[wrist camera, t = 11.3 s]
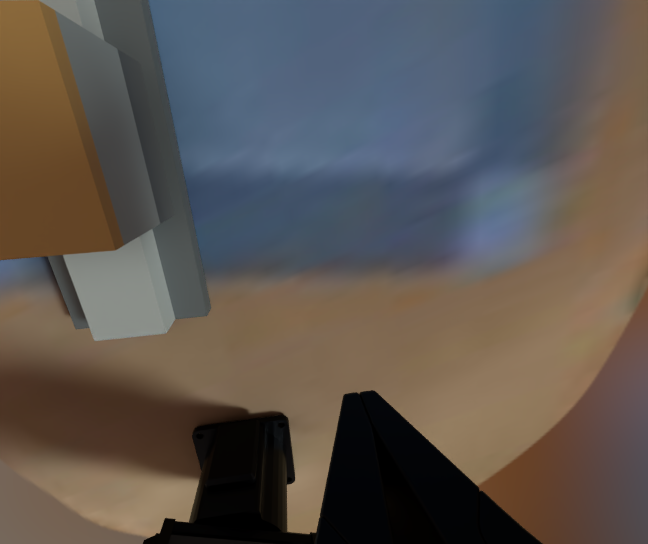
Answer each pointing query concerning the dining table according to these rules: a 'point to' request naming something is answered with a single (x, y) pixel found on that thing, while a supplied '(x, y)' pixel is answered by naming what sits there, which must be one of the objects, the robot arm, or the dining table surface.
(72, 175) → the block
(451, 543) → the robot arm
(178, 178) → the rail
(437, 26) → the dining table surface
